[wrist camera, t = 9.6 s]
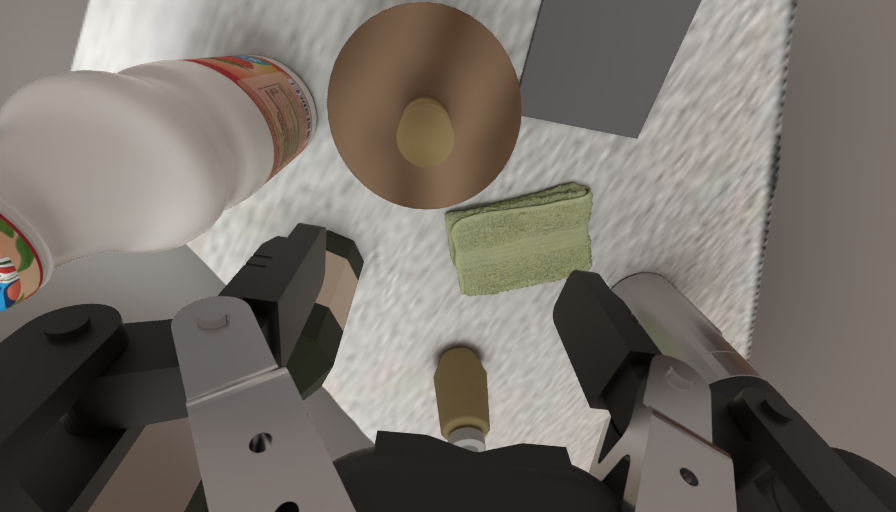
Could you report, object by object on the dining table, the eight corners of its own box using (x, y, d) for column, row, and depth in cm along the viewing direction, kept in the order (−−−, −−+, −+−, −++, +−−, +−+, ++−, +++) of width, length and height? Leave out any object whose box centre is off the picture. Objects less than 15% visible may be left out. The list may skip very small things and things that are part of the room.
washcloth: (439, 209, 41) (440, 221, 39) (586, 175, 40) (598, 185, 37) (461, 292, 48) (463, 307, 45) (587, 266, 47) (597, 280, 44)
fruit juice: (277, 173, 38) (18, 399, 14) (198, 97, 33) (-371, 235, 10) (339, 119, 35) (151, 283, 11) (262, 30, 31) (-300, -11, 7)
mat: (708, -24, 30) (713, -25, 30) (634, 137, 37) (637, 138, 37) (559, -66, 28) (562, -68, 28) (511, 112, 35) (513, 113, 35)
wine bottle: (377, 263, 44) (308, 560, 19) (332, 295, 47) (218, 597, 21) (328, 217, 41) (160, 511, 15) (282, 255, 43) (71, 563, 18)
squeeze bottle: (424, 366, 55) (422, 490, 40) (449, 334, 52) (458, 456, 36) (466, 381, 58) (480, 503, 42) (493, 351, 54) (519, 472, 39)
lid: (542, 27, 22) (578, 23, 16) (493, 214, 28) (507, 252, 23) (330, -19, 20) (296, -39, 15) (331, 191, 27) (308, 227, 21)
